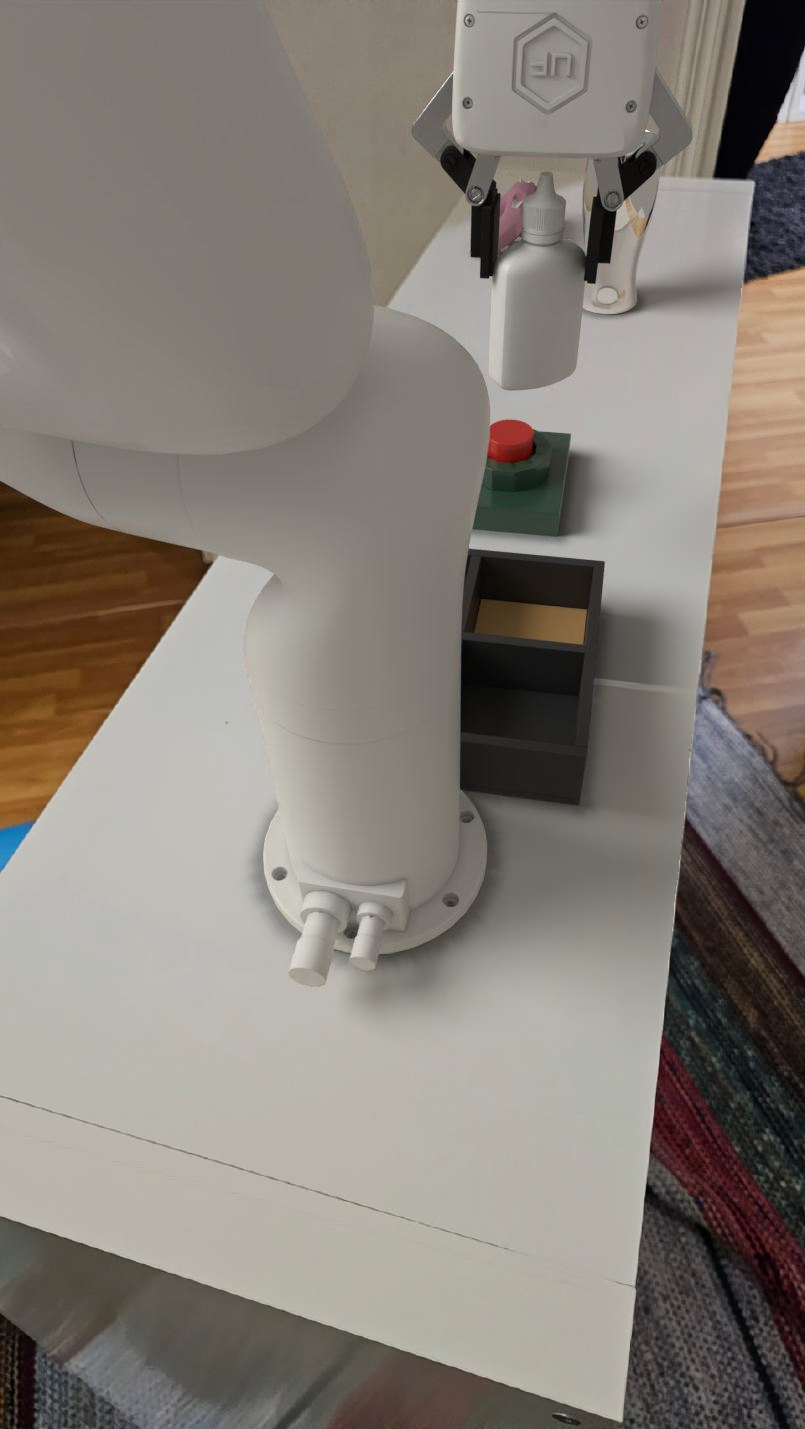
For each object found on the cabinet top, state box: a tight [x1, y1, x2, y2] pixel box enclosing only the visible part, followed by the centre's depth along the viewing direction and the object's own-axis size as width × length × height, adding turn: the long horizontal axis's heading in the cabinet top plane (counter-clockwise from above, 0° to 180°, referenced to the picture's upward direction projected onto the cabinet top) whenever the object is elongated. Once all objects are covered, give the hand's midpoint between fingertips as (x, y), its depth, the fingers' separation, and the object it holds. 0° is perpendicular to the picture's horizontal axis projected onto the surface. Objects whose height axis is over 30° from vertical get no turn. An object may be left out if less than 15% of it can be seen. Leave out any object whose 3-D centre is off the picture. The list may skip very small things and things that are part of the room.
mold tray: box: [460, 548, 606, 806], centre depth 62 cm, size 17×17×5 cm
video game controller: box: [498, 177, 537, 252], centre depth 107 cm, size 10×5×7 cm, turn 168°
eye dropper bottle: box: [488, 171, 586, 392], centre depth 58 cm, size 4×6×12 cm
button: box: [487, 419, 534, 463], centre depth 74 cm, size 4×4×2 cm
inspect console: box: [472, 428, 572, 538], centre depth 76 cm, size 11×9×4 cm
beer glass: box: [581, 128, 662, 315], centre depth 93 cm, size 7×7×15 cm
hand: (539, 269), depth 57 cm, fingers closed on eye dropper bottle, 5 cm apart
